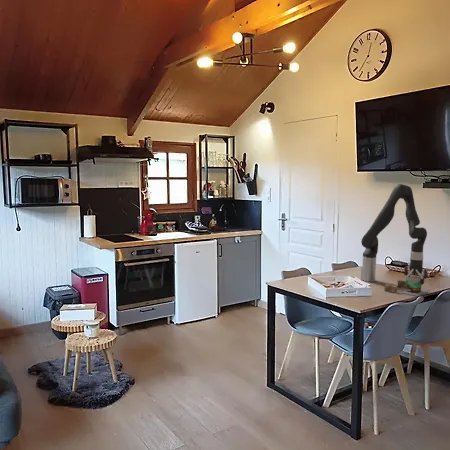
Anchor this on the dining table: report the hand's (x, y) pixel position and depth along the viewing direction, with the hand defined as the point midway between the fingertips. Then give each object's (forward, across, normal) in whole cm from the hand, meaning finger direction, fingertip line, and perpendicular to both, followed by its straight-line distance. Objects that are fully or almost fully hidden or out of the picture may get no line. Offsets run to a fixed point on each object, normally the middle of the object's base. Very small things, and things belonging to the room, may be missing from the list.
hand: (415, 283), depth 294 cm
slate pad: (+6, 0, 0) cm, 6 cm away
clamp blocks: (+6, -12, 0) cm, 14 cm away
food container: (+6, +1, 0) cm, 6 cm away
